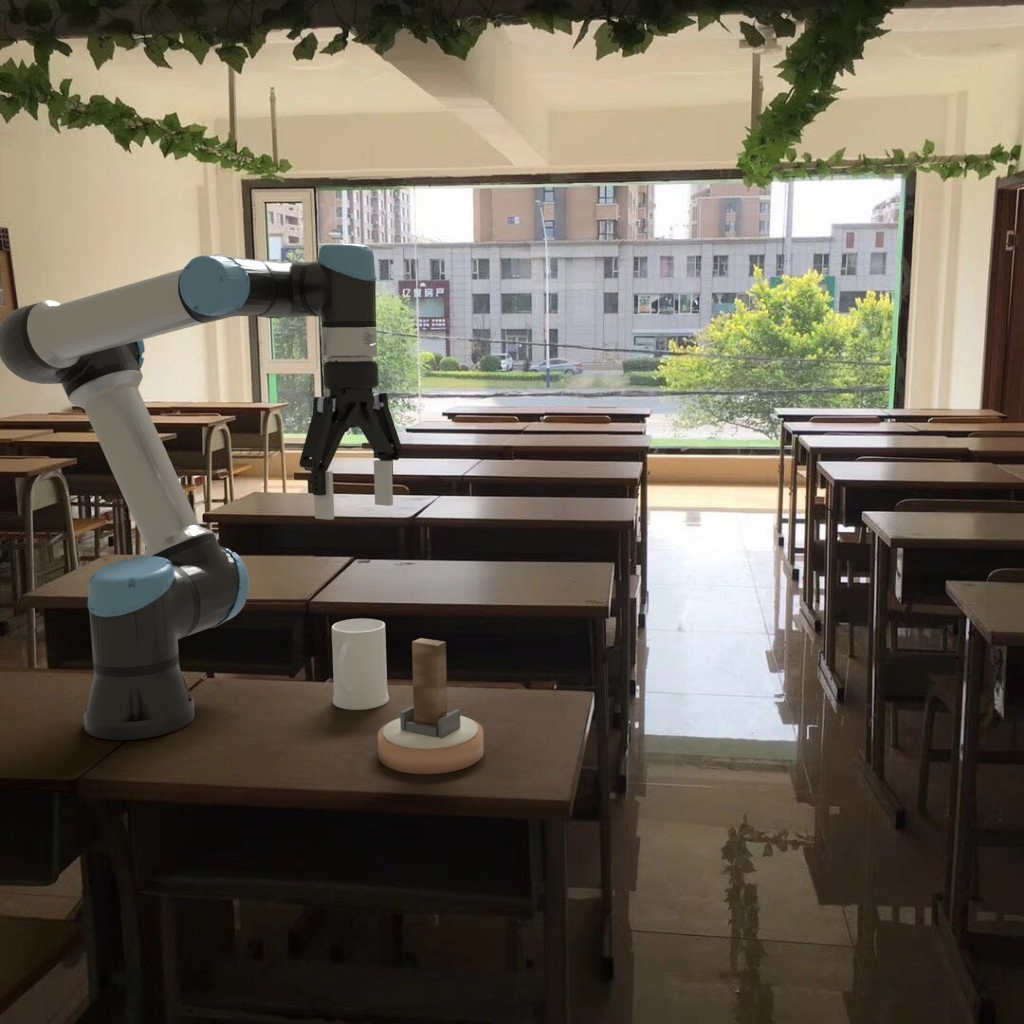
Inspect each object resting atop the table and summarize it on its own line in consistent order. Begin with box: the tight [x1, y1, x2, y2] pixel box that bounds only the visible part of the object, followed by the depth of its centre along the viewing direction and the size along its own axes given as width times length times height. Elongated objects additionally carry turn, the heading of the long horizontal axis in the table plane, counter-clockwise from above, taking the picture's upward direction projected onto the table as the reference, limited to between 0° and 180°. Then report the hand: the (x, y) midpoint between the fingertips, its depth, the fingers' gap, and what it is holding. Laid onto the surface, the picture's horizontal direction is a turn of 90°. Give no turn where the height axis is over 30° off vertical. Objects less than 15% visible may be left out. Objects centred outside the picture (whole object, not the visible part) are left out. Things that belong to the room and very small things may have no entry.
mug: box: [331, 618, 390, 711], centre depth 162 cm, size 12×8×12 cm
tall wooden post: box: [411, 637, 448, 727], centre depth 142 cm, size 4×2×12 cm, turn 61°
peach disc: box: [377, 704, 484, 775], centre depth 143 cm, size 14×14×6 cm
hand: (355, 511), depth 152 cm, fingers open, 13 cm apart
